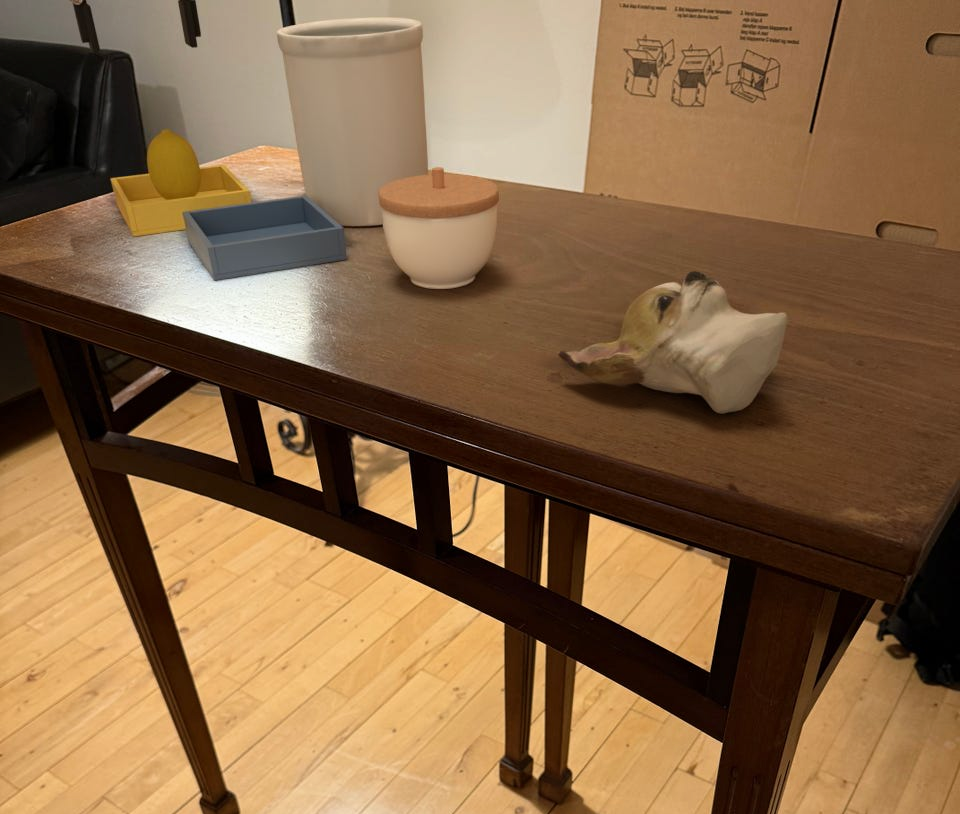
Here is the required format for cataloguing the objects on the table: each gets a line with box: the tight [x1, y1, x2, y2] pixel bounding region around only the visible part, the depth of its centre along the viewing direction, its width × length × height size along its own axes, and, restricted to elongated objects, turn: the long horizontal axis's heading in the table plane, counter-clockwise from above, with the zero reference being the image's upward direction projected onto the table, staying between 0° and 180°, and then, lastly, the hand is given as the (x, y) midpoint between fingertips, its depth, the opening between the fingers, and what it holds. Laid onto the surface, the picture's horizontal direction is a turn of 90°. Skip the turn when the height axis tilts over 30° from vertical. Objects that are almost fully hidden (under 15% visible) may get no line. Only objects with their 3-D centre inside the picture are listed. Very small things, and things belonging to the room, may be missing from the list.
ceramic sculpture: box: [557, 270, 789, 415], centre depth 64 cm, size 11×9×15 cm
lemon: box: [146, 128, 201, 200], centre depth 101 cm, size 6×6×8 cm
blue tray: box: [182, 194, 348, 281], centre depth 92 cm, size 13×13×3 cm
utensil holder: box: [276, 17, 429, 227], centre depth 98 cm, size 15×15×18 cm
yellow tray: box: [110, 164, 253, 237], centre depth 103 cm, size 13×13×3 cm
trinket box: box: [378, 166, 500, 290], centre depth 82 cm, size 11×11×9 cm
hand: (144, 48), depth 93 cm, fingers open, 9 cm apart
